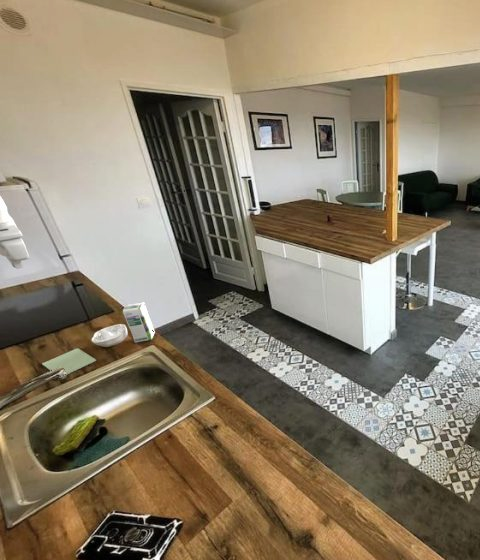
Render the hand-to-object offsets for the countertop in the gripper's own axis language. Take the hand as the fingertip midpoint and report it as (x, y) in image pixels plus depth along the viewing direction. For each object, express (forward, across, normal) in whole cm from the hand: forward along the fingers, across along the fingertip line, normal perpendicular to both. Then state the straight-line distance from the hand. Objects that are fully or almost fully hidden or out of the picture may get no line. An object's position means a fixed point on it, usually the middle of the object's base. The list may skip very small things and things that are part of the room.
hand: (18, 267), depth 113 cm
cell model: (+29, +28, +8) cm, 42 cm away
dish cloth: (+29, +28, -5) cm, 41 cm away
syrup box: (+29, +35, +16) cm, 48 cm away
